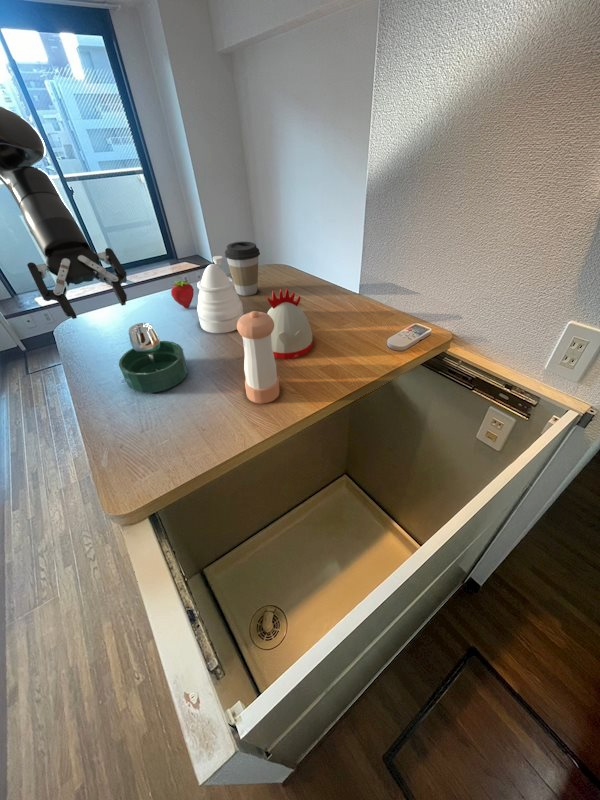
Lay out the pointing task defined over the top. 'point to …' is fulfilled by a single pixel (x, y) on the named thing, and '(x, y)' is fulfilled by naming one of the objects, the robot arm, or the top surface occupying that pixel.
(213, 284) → the honey pot
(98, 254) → the robot arm
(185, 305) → the strawberry
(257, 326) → the salt shaker
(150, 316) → the top surface
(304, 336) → the kitchen timer
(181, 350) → the green bowl
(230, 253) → the coffee cup
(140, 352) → the wineglass
